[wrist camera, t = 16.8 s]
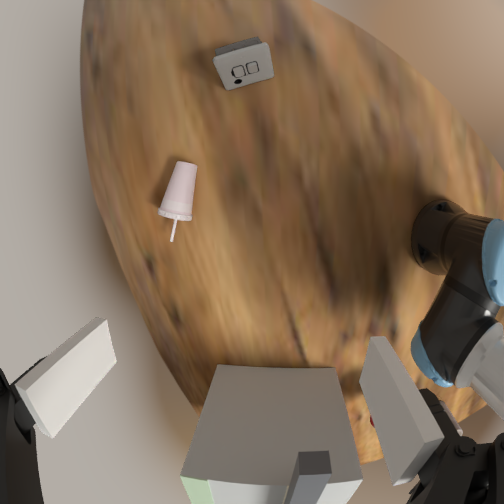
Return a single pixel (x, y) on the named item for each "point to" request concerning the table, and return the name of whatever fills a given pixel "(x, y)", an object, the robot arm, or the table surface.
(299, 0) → the table surface
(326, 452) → the handle
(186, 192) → the smoothie
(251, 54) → the electrical switch
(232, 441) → the breaker panel
